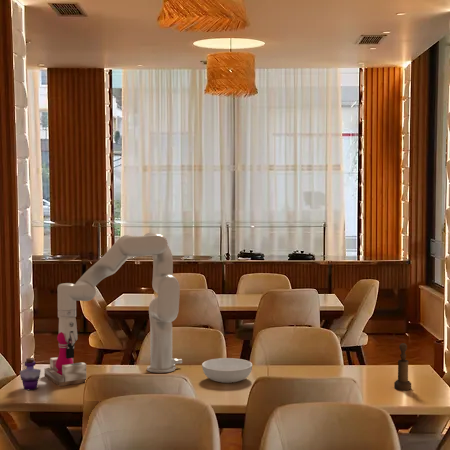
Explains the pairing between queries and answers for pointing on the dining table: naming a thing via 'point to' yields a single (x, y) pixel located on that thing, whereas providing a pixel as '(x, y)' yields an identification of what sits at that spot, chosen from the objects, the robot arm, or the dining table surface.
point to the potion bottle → (30, 375)
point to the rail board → (66, 373)
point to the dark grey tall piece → (402, 371)
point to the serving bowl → (227, 369)
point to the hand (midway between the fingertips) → (67, 356)
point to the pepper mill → (62, 353)
